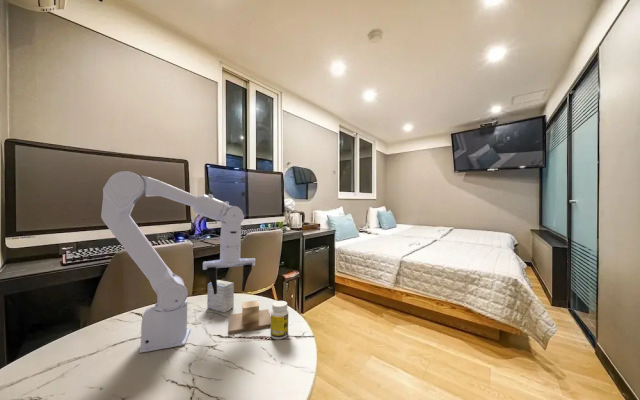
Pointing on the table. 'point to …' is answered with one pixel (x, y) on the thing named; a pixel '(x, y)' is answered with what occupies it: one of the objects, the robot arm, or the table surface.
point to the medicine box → (221, 296)
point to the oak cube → (250, 311)
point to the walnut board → (238, 326)
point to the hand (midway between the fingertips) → (229, 291)
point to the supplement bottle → (279, 320)
